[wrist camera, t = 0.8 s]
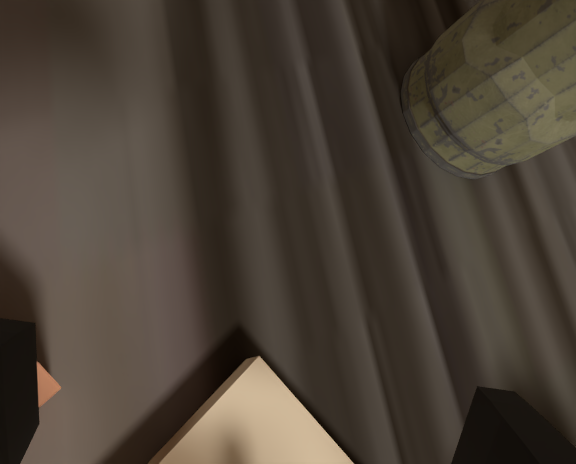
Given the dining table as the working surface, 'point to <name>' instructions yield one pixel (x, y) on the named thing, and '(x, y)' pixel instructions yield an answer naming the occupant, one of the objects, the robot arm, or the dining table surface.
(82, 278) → the dining table surface
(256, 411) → the lacing board
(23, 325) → the robot arm
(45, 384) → the bead
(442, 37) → the grey-green tall column
